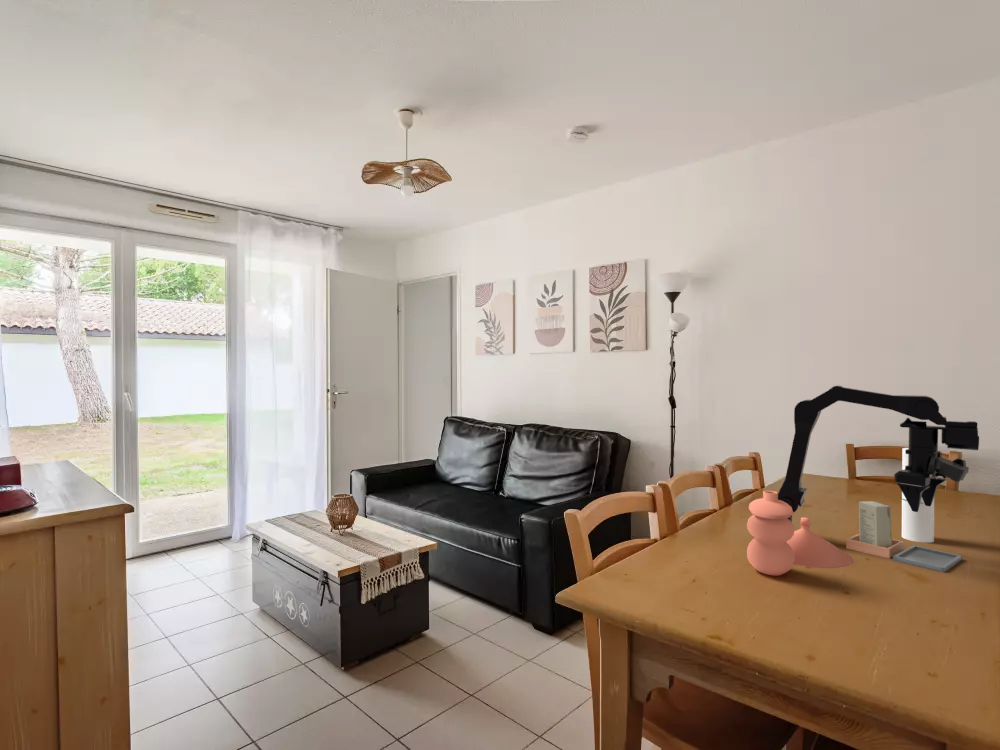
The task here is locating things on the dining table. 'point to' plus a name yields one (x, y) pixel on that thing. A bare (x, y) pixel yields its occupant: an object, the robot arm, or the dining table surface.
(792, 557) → the ceramic vessels
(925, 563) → the tray
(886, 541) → the skincare box
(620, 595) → the dining table surface
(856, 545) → the holder
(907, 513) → the cylindrical container
